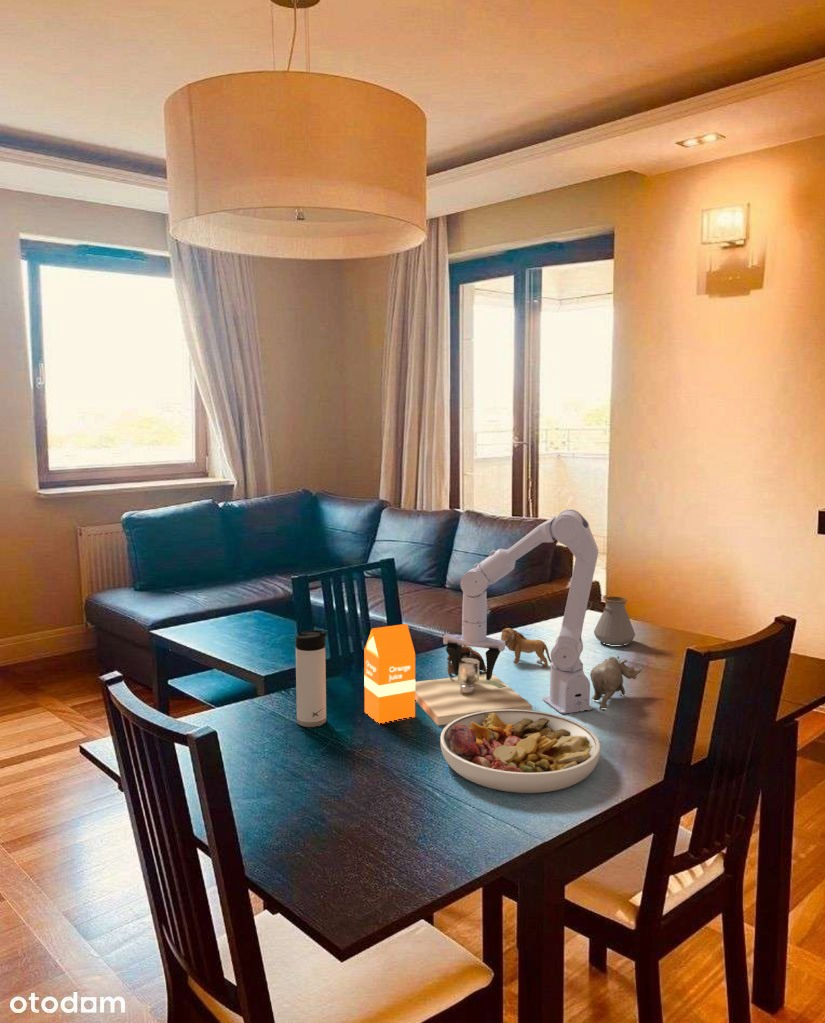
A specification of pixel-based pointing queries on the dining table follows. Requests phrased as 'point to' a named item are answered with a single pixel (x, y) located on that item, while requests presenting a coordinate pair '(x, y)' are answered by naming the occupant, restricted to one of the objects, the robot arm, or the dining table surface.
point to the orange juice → (389, 674)
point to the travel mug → (311, 678)
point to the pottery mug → (466, 654)
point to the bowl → (520, 750)
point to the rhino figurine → (610, 678)
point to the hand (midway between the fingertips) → (473, 676)
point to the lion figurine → (524, 645)
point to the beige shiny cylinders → (468, 674)
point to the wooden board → (465, 698)
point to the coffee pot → (614, 622)
